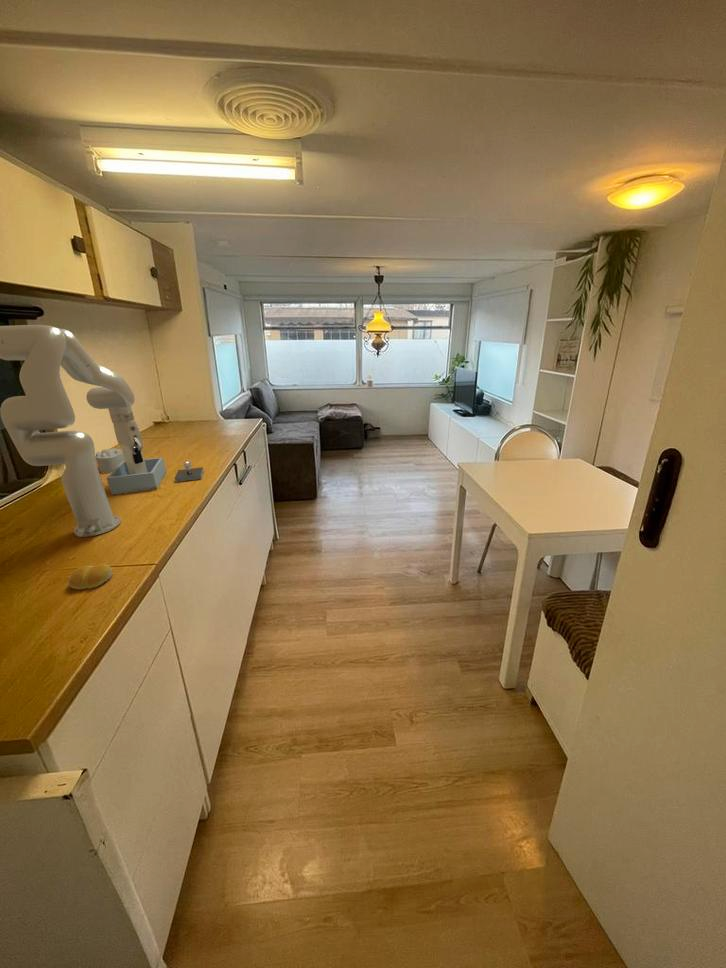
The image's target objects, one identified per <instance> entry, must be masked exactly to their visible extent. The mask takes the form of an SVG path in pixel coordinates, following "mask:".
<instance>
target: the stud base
mask: <svg viewBox="0 0 726 968" xmlns="http://www.w3.org/2000/svg"><path fill="white" fill-rule="evenodd" d="M183 467H184V468H185V469H178V470H177V472H176V473H175V476H174V481H175V483H176V482H177V481H185V482H187V481H186V480H193V481H198V480H197V479H201V480H202V479H203V475H204V471H205V470H204V467H192V463H191V462H190V461H189V460H186V461H184V462H183ZM177 483H178V482H177Z"/></svg>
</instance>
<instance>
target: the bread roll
mask: <svg viewBox="0 0 726 968" xmlns="http://www.w3.org/2000/svg"><path fill="white" fill-rule="evenodd" d="M112 577H113V569H112V567H111V566H110V565H108V564H106V563H98V564H95V565H91V564H90V565H85V564H84V565H81V566H79V567H77V568H76V569H74V571H73V572H72V573H71V574H70V576H69V577H68V578H67V585H68V586H69V587H70V588H72V589H74V590H85V589H94V588H93V587H95V588H97V587H99V585H100V586H101V585H103V584H104V582H105V581H106V582H107V581H108V579H109V580H110V579H111V578H112ZM106 582H105V583H106ZM102 583H103V584H102Z"/></svg>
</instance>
